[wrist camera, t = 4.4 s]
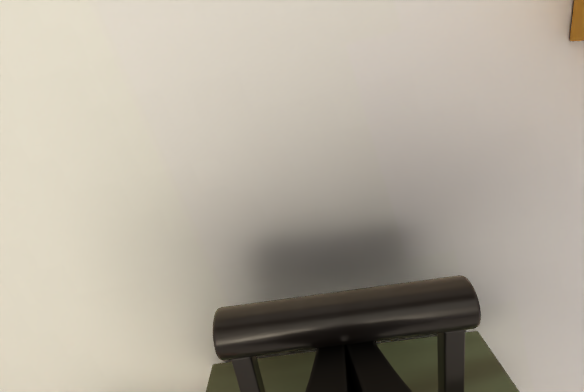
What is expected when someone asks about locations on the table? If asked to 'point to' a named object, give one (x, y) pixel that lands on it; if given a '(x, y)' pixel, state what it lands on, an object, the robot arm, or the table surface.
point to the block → (577, 21)
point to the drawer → (360, 338)
